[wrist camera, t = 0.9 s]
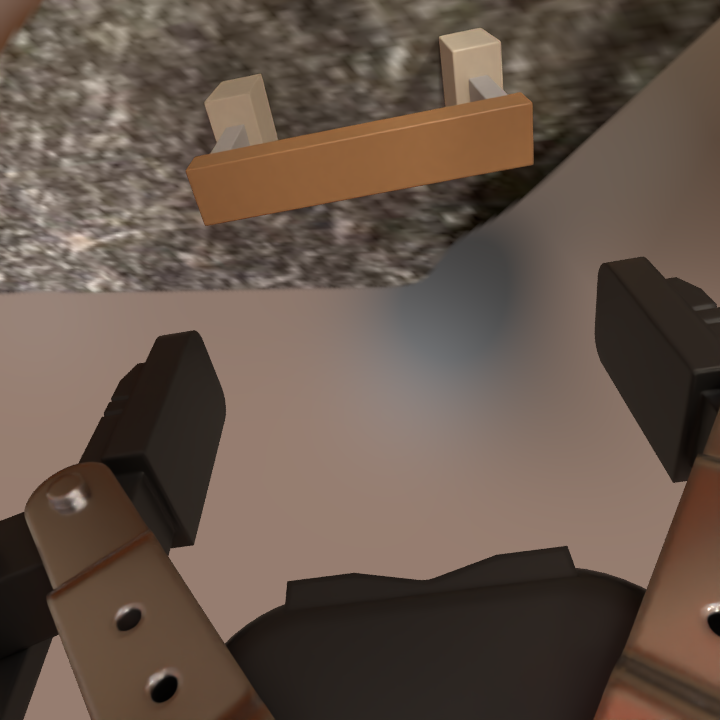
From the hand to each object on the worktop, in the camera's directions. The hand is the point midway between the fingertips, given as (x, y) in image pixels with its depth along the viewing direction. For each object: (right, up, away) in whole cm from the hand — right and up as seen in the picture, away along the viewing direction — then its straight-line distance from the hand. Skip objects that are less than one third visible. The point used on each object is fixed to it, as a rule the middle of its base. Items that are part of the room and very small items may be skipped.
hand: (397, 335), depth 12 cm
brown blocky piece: (-1, +15, +23) cm, 27 cm away
